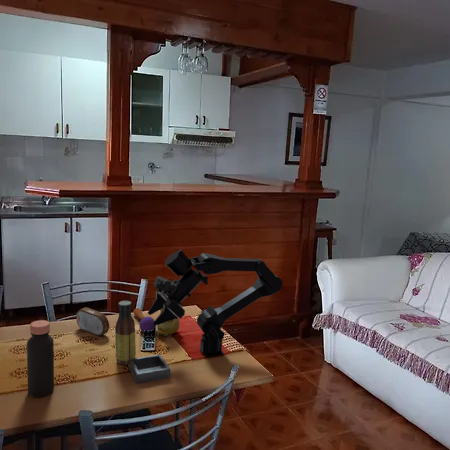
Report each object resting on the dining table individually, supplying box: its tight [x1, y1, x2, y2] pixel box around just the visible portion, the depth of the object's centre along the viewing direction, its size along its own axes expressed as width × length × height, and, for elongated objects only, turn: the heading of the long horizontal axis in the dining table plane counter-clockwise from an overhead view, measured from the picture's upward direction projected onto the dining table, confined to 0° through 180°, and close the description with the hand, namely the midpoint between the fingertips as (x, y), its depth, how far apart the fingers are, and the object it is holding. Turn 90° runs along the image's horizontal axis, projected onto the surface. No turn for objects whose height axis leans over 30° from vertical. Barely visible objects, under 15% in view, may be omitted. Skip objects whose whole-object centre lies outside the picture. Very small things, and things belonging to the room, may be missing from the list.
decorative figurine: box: [156, 308, 181, 337], centre depth 173 cm, size 10×8×15 cm
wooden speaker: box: [75, 306, 110, 337], centre depth 170 cm, size 15×3×8 cm, turn 58°
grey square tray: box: [128, 354, 171, 384], centre depth 144 cm, size 10×10×3 cm
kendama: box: [132, 307, 157, 332], centre depth 180 cm, size 6×6×20 cm
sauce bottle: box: [114, 300, 137, 366], centre depth 149 cm, size 7×6×20 cm
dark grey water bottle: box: [26, 319, 55, 398], centre depth 129 cm, size 7×7×20 cm
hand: (151, 319), depth 151 cm, fingers open, 9 cm apart
